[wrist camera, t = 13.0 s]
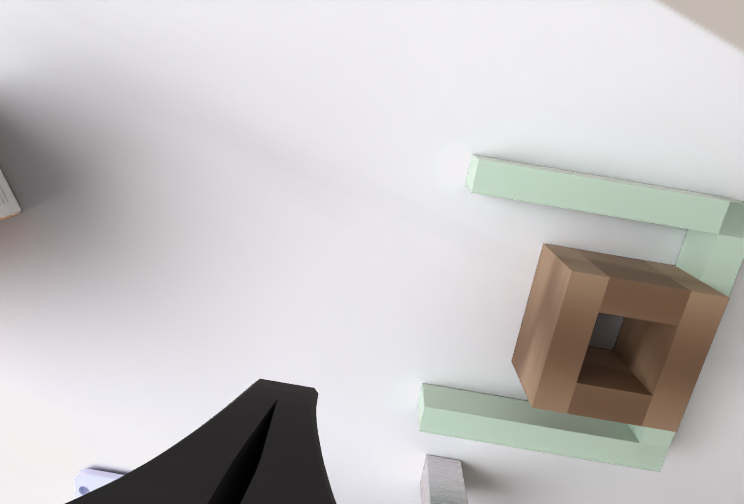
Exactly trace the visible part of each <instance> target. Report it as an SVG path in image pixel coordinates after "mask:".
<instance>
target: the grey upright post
mask: <svg viewBox="0 0 744 504" xmlns="http://www.w3.org/2000/svg"><path fill="white" fill-rule="evenodd" d="M420 487H421V504H468V502H467V496H466V490H465V484H464V478H463V473H462V467H461V461H460V460H455V459H449V458H443V457H437V456H431V455H426V460H425V464H424V468H423V473H422V477H421V482H420Z"/></svg>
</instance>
